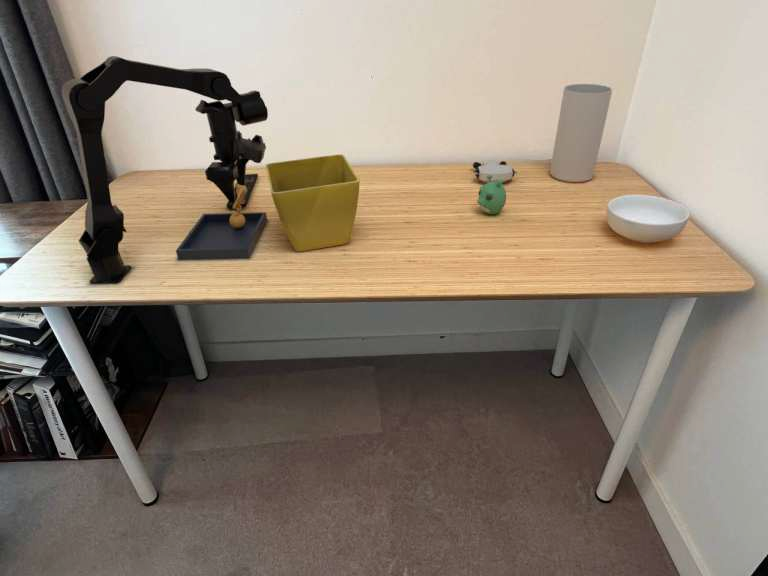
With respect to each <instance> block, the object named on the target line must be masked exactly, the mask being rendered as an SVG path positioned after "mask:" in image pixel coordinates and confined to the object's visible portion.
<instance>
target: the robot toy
mask: <svg viewBox="0 0 768 576" xmlns="http://www.w3.org/2000/svg"><path fill="white" fill-rule="evenodd" d="M470 166H471V167H472V168H473V169H475V171H474V172H473V175H474V176H475V177H476V178H477V179H479V181H482V182H483V183H485V184H486V183H488V182H489V179H487V178H486V177H487V176H488V175H492V178H491V182H492V181H495V182H497V180H498V179H501V180H502V181H503V183H505V182H507V181H510V180H512V179H513V178H514V177H515V174H519V171H515V170H514V169H513V167H511V166H510V165H508V163H507V161H506V160H505V161H504V160H503V161H502V160H501V161H498V160H497V159H494V158H493V159H492V158H490V159H488V158H487V159H484V160H483V161H482V163H481V162H478V161H475V162H471V163H470Z"/></svg>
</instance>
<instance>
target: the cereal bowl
mask: <svg viewBox="0 0 768 576" xmlns="http://www.w3.org/2000/svg"><path fill="white" fill-rule="evenodd" d="M689 219H690V212H689V210H688V209H687V208H686V207H685V206H683V205H682V204H681V203H679V202H676V201H674V200H670V199H668V198H664V197H661V196H655V195H650V194H649V195H648V194H625V195H624V194H623V195H620V196H617V197H613V198H612V199H611V200H610V201H609V202H608V204H607V208H606V221H607V223H608V226H609V228H611V229H612V230H613V231H614V232H616V234H617V235H620V236H622V237H624V238H626V239H627V240H629V241H632V242H635V243H640V244H652V243H659V242H665V241H668V240H671V239H673V238H675V237H676V236H678V235H680V233H682V232H683V231H684V229H685V227H686V225H687V224H688V223H689V222H688V220H689Z"/></svg>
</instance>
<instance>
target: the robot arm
mask: <svg viewBox="0 0 768 576" xmlns="http://www.w3.org/2000/svg"><path fill="white" fill-rule="evenodd" d="M126 82H134V83H140V84H146V85H147V84H148V85H154V86H160V87H167V88H172V89H180V90H186V91H189V92H192V93H193V94H196V95H197V94H198V95H199V96H202V97H206V98H209V99H212V100H214V101H209V102H207V101H206V100H204V99H200V101H199V103H198V105H197V106H196V107H195V111H196V112H197V113H199V114H202V115H205V114H206V119H207V121H208V126H209V130H210V134H211V135H210V137H208V140H209V143H213V148H214V151H215V153H214V154H213V160H214V161H212V162H211V163H210V164H209V166H208V167H207V168H206V170H204V173H205V178H206V180H207V181H210V182H211V183H213V184H214V185H215V186H216V187H217V188H218V189H219V190H220V192H221V193H222V194H223V195H224V196H225V198H226V199H227V201H230V202H235V189H234V188H235V181H236V183H237V182H238V184H239V185H243V186H245V175H246V173H247V164H248V163H249V162H250V161H251V162H253V163H255V164H260V163H261V162H262V161H263V160H264V157H265V152H266V149H267V146H266V143H265V142H264V139H263V136H261V135H259V134H255V135H254V136H253V137H252V138H250V137H248V138H245V137H243V134H242V132H241V131H240V130H238V129H237V123H239V125H241V126H243V127H244V126H248V125H253V124H256V123H261V122H265V121H267V120H268V117H269V111H268V107H267V106H266V103H265V101H264V99H263V98H262V97H261V92H260V91H258V90H250V91H248V92H244V93H239V92H238V91H237V90H236V89H235V88H234V87H233V86H232V83H231V80H230V78H229V77H228V75H227V74H226V73H225V72H221V71H219V70H214V69H213V68H212V69H211V68H176V67H170V66H164V65H158V64H153V63H149V62H148V63H147V62H142V61H137V60H131V59H126V58H122V57H119V56H117V55H111V56H108V57H107V58H106V59H105V61H103V62H102V63H100V64H99V65H97V66H96V67H94V68H93V69H90V70H89V71H87V72H86V73H85V74H83V75H82V76H81V77H80V78H71V79H69V80H67V81H66V82H65V83H64V84H63V85H62V87H61V96H62V100H63V102H64V105H65V107H66V111H67V113H68V114H69V117H70V120H71V122H72V125H73V126H74V127H73V128H74V129H75V132H76V138H77V144H78V149H79V156H80V161H81V167H82V174H83V179H84V186H85V191H86V197H87V203H86V207H85V212H84V213H85V215H84V228H85V229H84V231H83V232H82V234H81V236H80V238H79V239H78V243H79V244H80V246H81V248H82V249H83V251H84V252H85V253H86V261H87V264H88V265H89V267H90V270H91V273H92V274H93V276H92V278H91V279H89V283H90V284H119V283H121V281H122V280H123V279H124V278H125V277H126V275H127V274H128V273H129V272H130V271H131V269H132V265H125V263H124V261H123V258H122V255H121V253H120V250H119V245H120V243H121V242H122V241H123V239H124V233H127V229H126V228H125V223H124V222H125V216H124V215H125V214H124V213H123V211H122V210H121V209H120V207H118V206H117V205H116V204H114V205H113V203H112V198H111V189H110V184H109V177H108V170H107V163H106V157H105V150H104V142H103V135H102V134H103V133H102V132H103V128H104V123H105V113H106V102H107V101H108V100H109V99H110V98H112V97H113V96H114V95H115V94H116V92H118V91H119V89H120V88H121V87H122V85H123V84H125V83H126ZM222 101H227V102H226V103H223V102H222Z"/></svg>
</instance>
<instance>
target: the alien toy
mask: <svg viewBox="0 0 768 576" xmlns="http://www.w3.org/2000/svg"><path fill="white" fill-rule="evenodd" d="M486 178H487V179H489V182H488V183H486V182H485V184H483V185H481V186H479V191H478V193H477V194H478V199H476V201H477V204H478V205H479V206H480V208H481V210H482V211H483V212H484V213H485V214H488V215H495V214H498V213H500V212H501V211H502V210H503V209H504V208H505V207H504V206H506V202H507V191H506V188H505V186H503V183H504V182H503V181H502V180H501V179H498V180H497V181H491V178H492V175H488V176H487V177H486Z"/></svg>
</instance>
